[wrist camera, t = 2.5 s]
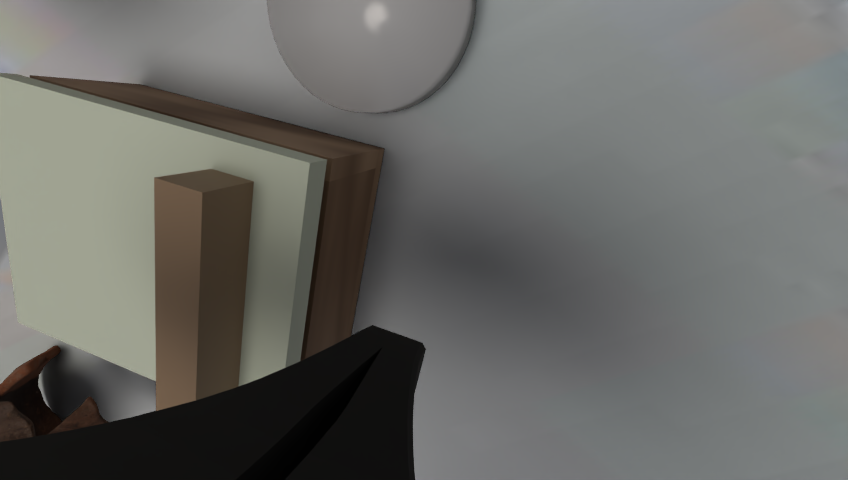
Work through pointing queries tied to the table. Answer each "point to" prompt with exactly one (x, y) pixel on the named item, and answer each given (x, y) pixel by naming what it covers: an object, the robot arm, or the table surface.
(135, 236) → the lid
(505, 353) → the table surface
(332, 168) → the box
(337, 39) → the grey piece
